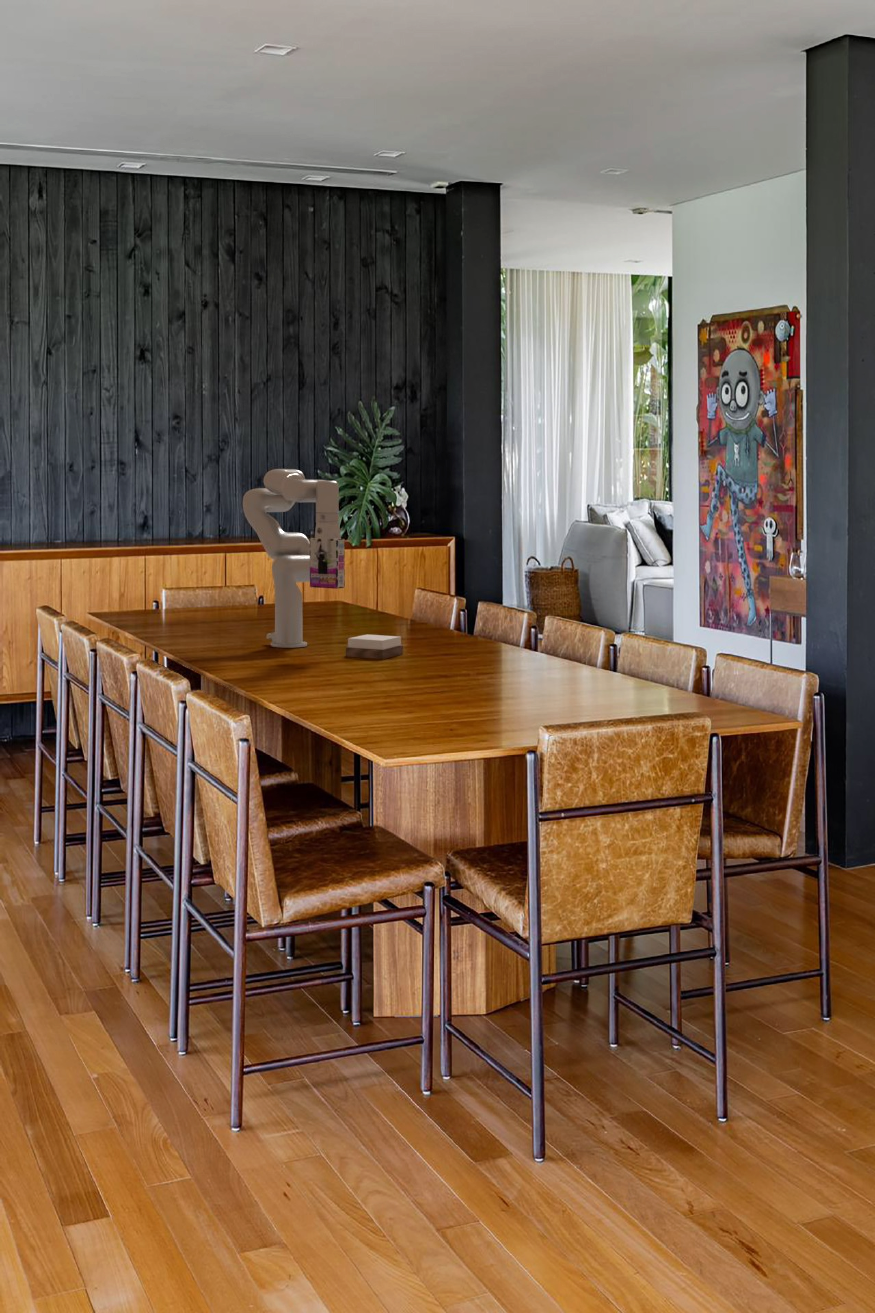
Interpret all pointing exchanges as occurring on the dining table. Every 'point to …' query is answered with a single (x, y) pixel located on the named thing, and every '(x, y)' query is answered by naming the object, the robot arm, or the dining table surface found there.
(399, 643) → the cream top block
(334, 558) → the candy bar box
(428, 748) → the dining table surface
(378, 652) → the walnut base block
